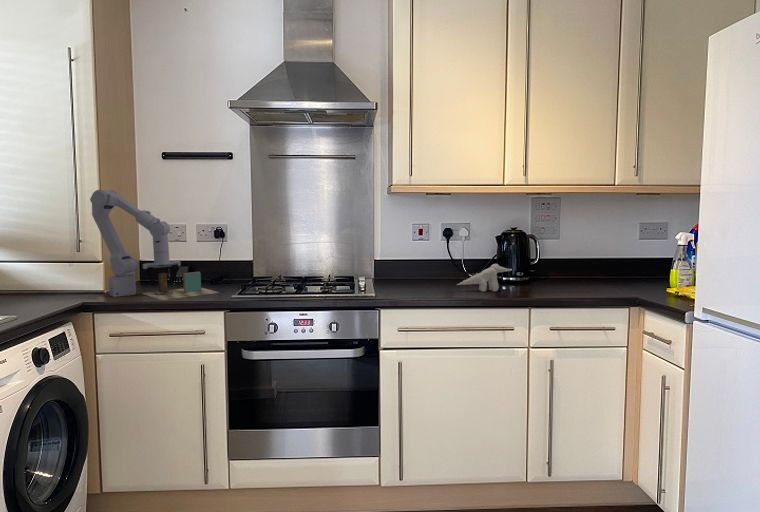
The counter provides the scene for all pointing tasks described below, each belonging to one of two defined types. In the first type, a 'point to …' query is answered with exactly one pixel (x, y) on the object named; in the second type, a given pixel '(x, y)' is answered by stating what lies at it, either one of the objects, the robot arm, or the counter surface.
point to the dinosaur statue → (486, 278)
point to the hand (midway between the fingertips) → (163, 284)
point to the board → (180, 294)
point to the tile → (192, 281)
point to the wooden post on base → (162, 285)
